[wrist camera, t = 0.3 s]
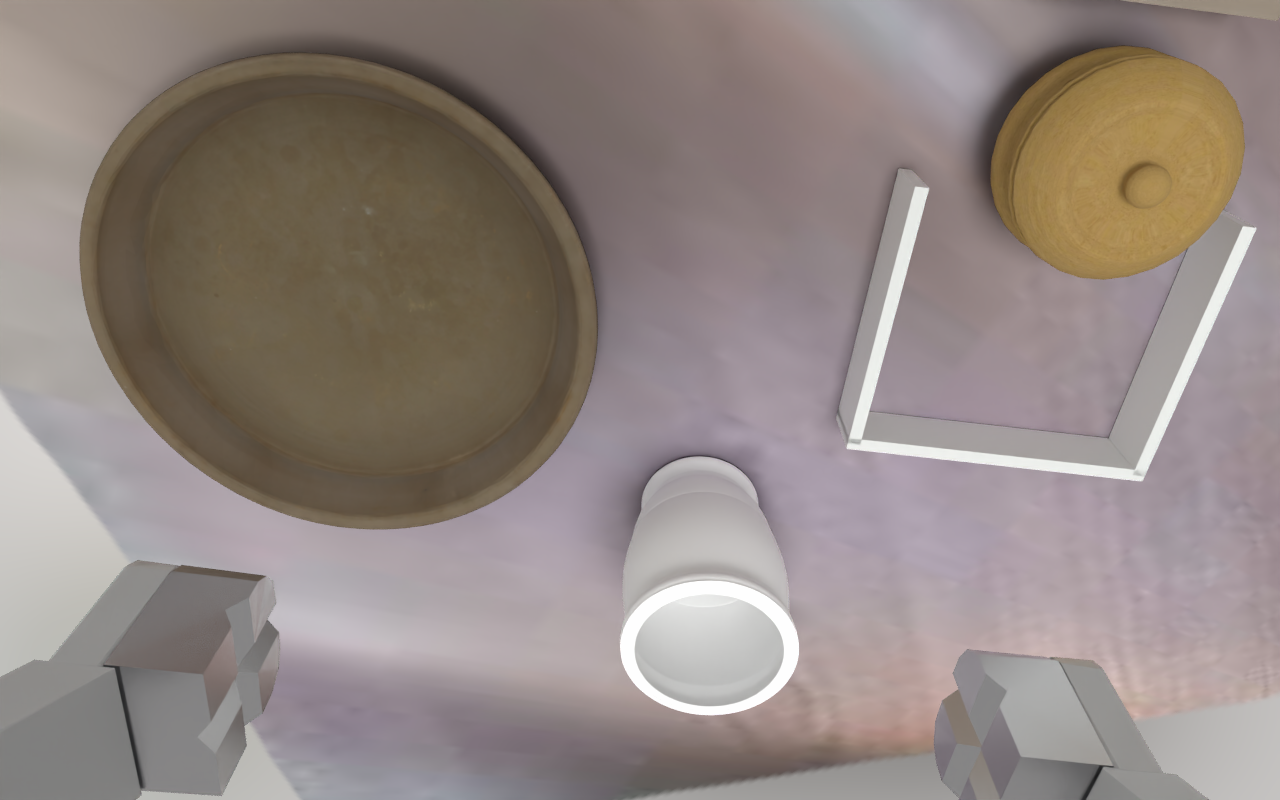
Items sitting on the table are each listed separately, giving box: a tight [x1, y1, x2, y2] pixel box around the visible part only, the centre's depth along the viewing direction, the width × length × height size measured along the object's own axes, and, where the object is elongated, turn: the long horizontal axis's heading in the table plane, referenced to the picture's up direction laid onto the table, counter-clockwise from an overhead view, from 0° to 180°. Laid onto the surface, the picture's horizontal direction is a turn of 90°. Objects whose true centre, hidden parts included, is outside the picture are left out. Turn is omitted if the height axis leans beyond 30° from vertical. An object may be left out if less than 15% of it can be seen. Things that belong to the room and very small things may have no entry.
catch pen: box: [836, 168, 1257, 481], centre depth 57 cm, size 17×20×4 cm
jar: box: [620, 456, 799, 715], centre depth 60 cm, size 11×10×15 cm
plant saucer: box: [80, 53, 598, 529], centre depth 57 cm, size 31×31×5 cm
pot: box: [990, 46, 1245, 280], centre depth 49 cm, size 12×12×10 cm
